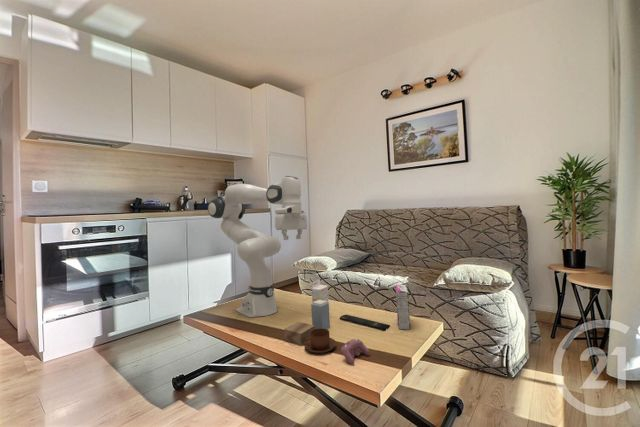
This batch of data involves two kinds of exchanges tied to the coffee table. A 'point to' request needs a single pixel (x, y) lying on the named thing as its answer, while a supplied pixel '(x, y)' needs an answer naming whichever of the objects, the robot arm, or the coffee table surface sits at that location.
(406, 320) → the candy bar box
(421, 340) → the coffee table surface
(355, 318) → the remote control
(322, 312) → the tall gray box
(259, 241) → the robot arm
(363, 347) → the video game controller
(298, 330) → the walnut block
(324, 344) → the cup and saucer
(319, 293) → the ink box
